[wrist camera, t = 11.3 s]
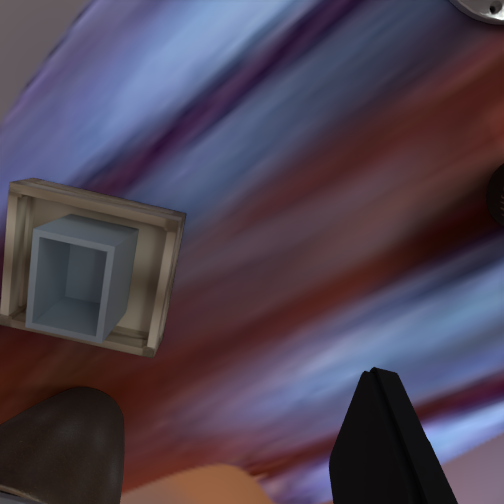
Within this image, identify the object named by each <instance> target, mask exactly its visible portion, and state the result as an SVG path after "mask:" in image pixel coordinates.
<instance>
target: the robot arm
mask: <svg viewBox="0 0 504 504" xmlns="http://www.w3.org/2000/svg"><path fill="white" fill-rule="evenodd" d="M449 1H450V2H451V3H452V4H453V5H455V6H456V7H457V8H458V9H459V10H460V11H461V12H463V13H465V14H466V15H468V16H470V17H472V18H473V19H476V20H479V21H482V22H485V23H489V24H499V25H504V0H449ZM489 8H491V9H492V13H491V12H490V10H489ZM329 474H330V481H331V488H332V496H333V503H334V504H458V503H457V501H456V498H455V496H454V494H453V492H452V489H451V487H450V485H449V483H448V481H447V479H446V477H445V474H444V472H443V470H442V468H441V465H440V463H439V461H438V459H437V457H436V455H435V452H434V450H433V448H432V446H431V444H430V442H429V440H428V439H427V437H426V435H425V432H424V430H423V428H422V426H421V424H420V421H419V419H418V417H417V415H416V413H415V410H414V408H413V406H412V404H411V402H410V399H409V397H408V395H407V393H406V391H405V389H404V386H403V384H402V382H401V380H400V378H399V375H398V374H397V373H395V372H391V371H387V370H383V369H379V368H376V367H373V368H372V369H371V370H370V372H368V371H364V372H363V373H362V375H361V377H360V380H359V382H358V385H357V388H356V390H355V393H354V395H353V398H352V401H351V403H350V406H349V408H348V411H347V414H346V416H345V419H344V421H343V424H342V427H341V429H340V432H339V434H338V437H337V440H336V442H335V445H334V447H333V450H332V453H331V456H330V461H329ZM0 504H46V503H42V502H38V501H34V500H30V499H26V498H22V497H18V496H14V495H9V494H5V493H1V492H0Z"/></svg>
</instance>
